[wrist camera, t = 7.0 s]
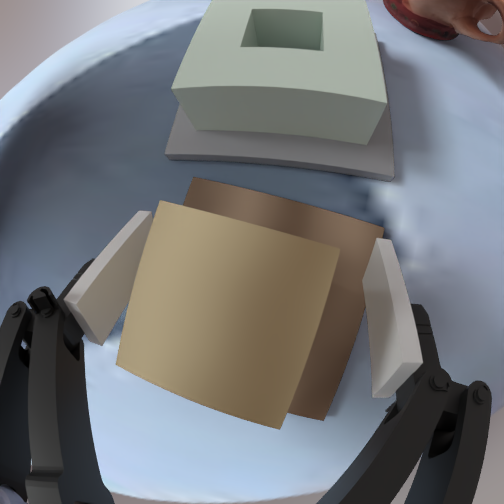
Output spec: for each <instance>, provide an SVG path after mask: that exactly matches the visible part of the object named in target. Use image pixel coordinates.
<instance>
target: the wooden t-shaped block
mask: <svg viewBox="0 0 504 504" xmlns="http://www.w3.org/2000/svg"><path fill="white" fill-rule="evenodd" d="M383 233H384V228H383V227H380V226H377V225H374V224H371V223H368V222H365V221H361V220H358V219H355V218H352V217H349V216H345V215H342V214H339V213H335V212H332V211H328V210H325V209H321V208H318V207H314V206H311V205H307V204H304V203H300V202H296V201H293V200H289V199H285V198H281V197H278V196H274V195H270V194H266V193H262V192H258V191H254V190H250V189H245V188H241V187H237V186H233V185H228V184H224V183H219V182H215V181H210V180H206V179H201V178H196V177H193V179H192V182H191V184H190V187H189V190H188V193H187V195H186V198H185V201H184V204H183V206H182V205H178V204H174V203H170V202H166V201H161V200H160V202H159V205H158V208H157V211H156V214H155V216H154V219H153V222H152V225H151V228H150V231H149V234H148V238H147V241H146V244H145V247H144V250H143V254H142V257H141V260H140V264H139V267H138V271H137V274H136V278H135V282H134V285H133V289H132V293H131V297H130V301H129V305H128V309H127V313H126V317H125V322H124V326H123V331H122V335H121V340H120V345H119V350H118V355H117V361H116V365H117V366H119V367H121V368H123V369H125V370H127V371H128V372H130V373H132V374H134V375H136V376H138V377H140V378H142V379H144V380H146V381H148V382H150V383H152V384H154V385H157V386H159V387H161V388H163V389H165V390H168V391H170V392H172V393H174V394H177V395H179V396H181V397H184V398H186V399H189V400H191V401H193V402H196V403H199V404H201V405H204V406H206V407H209V408H212V409H214V410H217V411H220V412H223V413H226V414H229V415H232V416H235V417H238V418H241V419H244V420H247V421H251V422H254V423H257V424H261V425H264V426H268V427H272V428H275V429H279V430H280V428H281V426H282V423H283V421H284V419H285V416H286V414H287V413H291V414H295V415H299V416H303V417H307V418H312V419H317V420H321V421H324V419H325V417H326V414H327V412H328V410H329V408H330V405H331V403H332V401H333V398H334V396H335V393H336V391H337V388H338V386H339V383H340V381H341V378H342V376H343V373H344V370H345V368H346V365H347V362H348V359H349V357H350V354H351V351H352V348H353V345H354V342H355V339H356V336H357V333H358V330H359V327H360V324H361V320H362V317H363V314H364V310H365V307H366V305H365V297H364V289H363V282H362V280H363V277H364V274H365V271H366V269H367V266H368V263H369V260H370V257H371V254H372V251H373V248H374V244H375V241H376V238H381V239H382V238H383Z"/></svg>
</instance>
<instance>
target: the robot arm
mask: <svg viewBox="0 0 504 504" xmlns="http://www.w3.org/2000/svg"><path fill="white" fill-rule="evenodd" d="M152 222H153V218H152V213H151V211H138V212H137V213H136V214H135V216H134V217H133V218H132V219H131V220H130V221H129V222H128V223H127V224H126V225H125V226H124V227H123V228H122V229H121V231H120V232H119V233H118V234H117V235H116V236H115V237H114V238H113V239H112V241H111V242H110V243H109V244H108V245H107V246H106V247H105V249H104V250H103V251H102V252H101V253H100V254H99V256H98V257H97V258H96V259H91V260H90V261H89V262H87V263H86V264H84V266H83V267H82V268H81V269H80V270H79V272H78V274H76V275H75V277H74V278H73V280H71V282H70V283H69V284H68V285H67V287H66V288H65V289H64V290H63V292H62V293H61V294H60V296H59V297H58V298H57V300H56V298H55V297H54V295H53V293H52V291H51V290H50V288H49V287H46V286H44V287H39V288H37V289H36V290H34V291H33V292H32V293H31V294H30V295H29V297H28V299H27V302H28V303H29V305H30V306H31V308H32V309H29V308H28V307H27V305H26V304H25V303H24V302H22V301H19V302H16V303H14V304H13V305H12V306H11V307H10V308H9V309H8V311H7V313H6V315H5V318H4V320H3V322H2V325H1V327H0V504H28V503H27V499H28V501H29V504H115V503H114V500H113V498H112V495H111V493H110V492H109V490H108V489H107V488H106V487H105V486H104V484H103V482H102V479H101V475H100V471H99V466H98V462H97V457H96V453H95V448H94V442H93V437H92V431H91V424H90V417H89V410H88V401H87V391H86V379H85V362H84V343H83V340H82V339H81V338H82V337H83V335H84V334H85V335H86V337H87V338H88V340H89V341H90V342H93V343H95V344H98V345H101V346H103V344H104V342H105V340H106V339H107V337H108V335H109V333H110V332H111V330H112V328H113V327H114V325H115V323H116V322H117V320H118V318H119V317H120V315H121V313H122V312H123V310H124V308H125V307H126V305H127V303H128V302H129V300H130V297H131V293H132V289H133V285H134V282H135V278H136V274H137V271H138V267H139V264H140V260H141V257H142V254H143V250H144V247H145V244H146V241H147V238H148V234H149V231H150V228H151V225H152ZM362 282H363V289H364V297H365V305H366V313H367V323H368V333H369V345H370V359H371V377H372V398H390V397H391V396H392V395H393V394H394V393H395V392H396V399H397V400H396V401H395V402H394V403H393V404H392V405H391V406H390V407H389V408H388V409H387V410H386V412H388V411H389V412H388V413H387V415H386V416H385V418H384V419H383V421H382V422H381V424H380V425H379V427H378V428H377V430H376V431H375V433H374V434H373V436H372V437H371V439H370V440H369V441H368V443H367V444H366V446H365V447H364V448H363V450H362V451H361V452H360V454H359V455H358V456H357V458H356V459H355V460H354V461H353V463H352V464H351V465H350V466H349V468H348V469H347V470H346V471H345V472H344V474H343V475H342V476H341V477H340V478H339V480H338V481H337V482H336V483H335V484H334V485H333V486H332V487H331V489H330V490H329V491H328V492H327V493H326V494H325V495H324V496H323V497H322V498H321V499H320V500H319V501H318V502H317V504H390V503H391V502H392V500H393V499H394V498H395V496H396V495H397V493H398V492H399V490H400V489H401V487H402V486H403V484H404V483H405V481H406V480H407V478H408V477H409V475H410V473H411V472H412V470H413V469H414V467H415V465H416V463H417V462H418V460H419V458H420V457H421V455H422V457H421V460H420V463H419V467H418V470H417V473H416V475H415V478H414V480H413V483H412V486H411V488H410V491H409V493H408V496H407V498H406V500H405V503H404V504H472V502H473V498H474V495H475V492H476V488H477V485H478V481H479V477H480V473H481V469H482V465H483V460H484V455H485V450H486V444H487V438H488V430H489V423H490V414H491V402H492V396H491V391H490V389H489V387H488V386H487V385H486V383H484V382H482V381H475V382H473V383H471V384H470V385H469V386H465V385H462V384H459V383H456V382H453V381H451V378H450V376H449V374H448V373H447V372H446V371H445V370H444V369H442V368H441V366H440V362H439V358H438V353H437V348H436V344H435V340H434V336H433V332H432V328H431V327H430V326H431V324H430V320H429V316H428V314H427V312H426V311H425V309H424V308H423V306H422V305H419V304H410V300H409V296H408V293H407V289H406V286H405V282H404V279H403V275H402V272H401V269H400V265H399V262H398V259H397V256H396V253H395V250H394V247H393V244H392V241H391V240H388V239H381V238H376V241H375V244H374V248H373V251H372V254H371V257H370V260H369V263H368V266H367V269H366V271H365V274H364V277H363V280H362ZM22 340H23V341H24V342H25V344H26V345H27V346H26V348H25V349H23V347H22V346H21V343H22ZM422 453H423V454H422ZM31 459H32V472H31V473H30V469H31Z"/></svg>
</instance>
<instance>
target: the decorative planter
mask: <svg viewBox="0 0 504 504" xmlns="http://www.w3.org/2000/svg"><path fill="white" fill-rule="evenodd" d="M383 2H384V5H385V7H386V9H387V10H388V11H389V13H390V14H391V15H392V16H393V17H394V18H395V19H396V20H398V21H399V22H400V23H401V24H402V25H404V26H405V27H407V28H409V29H410V30H412V31H414V32H416V33H418V34H421V35H424V36H427V37H430V38H434V39H438V40H451V39H454V38H456V37H457V36H458V35H459V34H463V35H466V36H468V37H471V38H473V39H477V40H482V41H486V42H493V43H496V44H504V0H383ZM496 10H498V11H499V13H500V15H501V17H502V29H501V31H500V33H499V34H498V35H497V36H493V35H488V34H485V33H483V32H481V31H480V30H479V28H478V26H477V23H478V22H479V20H484V19H489V18H491V17H492V16H493V14H494V13H495V12H496Z"/></svg>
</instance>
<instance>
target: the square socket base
mask: <svg viewBox="0 0 504 504" xmlns="http://www.w3.org/2000/svg"><path fill="white" fill-rule="evenodd" d="M171 90H172V91H173V93H174V95H175V96H176V98H177V100H178V101H179V103H180V104H179V107H178V110H177V113H176V117H175V120H174V123H173V126H172V129H171V133H170V136H169V139H168V143H167V146H166V150H165V155H166V156H167V158H168V159H169V160H203V161H225V162H242V163H255V164H267V165H278V166H288V167H297V168H305V169H313V170H321V171H328V172H335V173H342V174H348V175H354V176H360V177H366V178H372V179H377V180H383V181H388V182H390V181H391V180H392V179H393V178H394V177H395V174H394V153H393V138H392V127H391V118H390V109H389V101H388V94H387V88H386V81H385V75H384V70H383V65H382V60H381V55H380V50H379V46H378V41H377V37H376V33H374V30H373V26H372V22H371V18H370V15H369V11H368V8H367V4H366V1H365V0H212V1H211V3H210V5H209V7H208V9H207V10H206V12H205V14H204V16H203V18H202V20H201V22H200V24H199V26H198V28H197V30H196V32H195V34H194V36H193V38H192V41H191V43H190V45H189V47H188V49H187V51H186V54H185V56H184V58H183V61H182V63H181V65H180V68H179V70H178V73H177V75H176V77H175V80H174V82H173V85H172V88H171Z"/></svg>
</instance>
